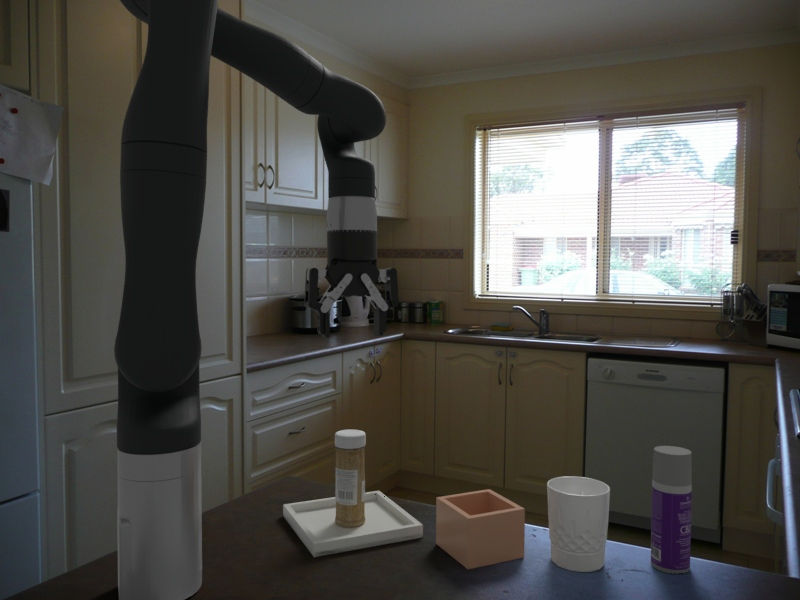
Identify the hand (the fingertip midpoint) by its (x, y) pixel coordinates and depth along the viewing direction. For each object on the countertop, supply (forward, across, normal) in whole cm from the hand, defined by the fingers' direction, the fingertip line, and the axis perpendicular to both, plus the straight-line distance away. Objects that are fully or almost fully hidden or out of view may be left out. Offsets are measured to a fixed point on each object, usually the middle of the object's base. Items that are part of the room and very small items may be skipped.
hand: (352, 336), depth 98 cm
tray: (+28, -2, -3) cm, 28 cm away
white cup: (+28, +22, -26) cm, 44 cm away
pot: (+28, +12, -18) cm, 35 cm away
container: (+28, +32, -32) cm, 53 cm away
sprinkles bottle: (+27, -2, -3) cm, 28 cm away
